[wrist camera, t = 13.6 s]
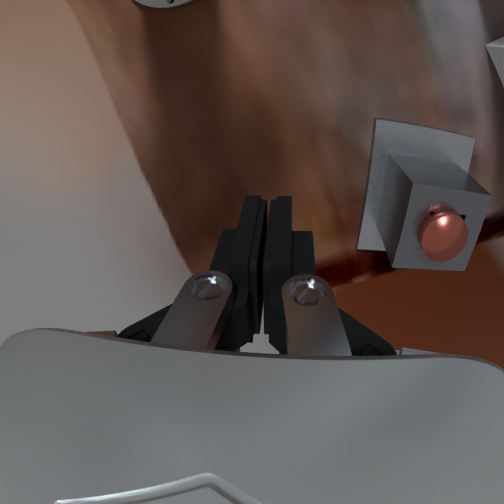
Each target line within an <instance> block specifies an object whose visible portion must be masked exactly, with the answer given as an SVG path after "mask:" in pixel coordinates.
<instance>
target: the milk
mask: <svg viewBox="0 0 504 504" xmlns="http://www.w3.org/2000/svg"><path fill="white" fill-rule="evenodd" d="M485 46H486V48H487V50H488V52H489V54H490V56H491V59H492V61H493V63H494V65H495V68H496V70H497V72H498V75H499V77H500V80H501V82H502V85H503V87H504V37H502V38H500V39H497V40H495V41H493V42H491V43H489V44H487V45H485Z"/></svg>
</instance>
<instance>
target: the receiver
mask: <svg viewBox="0 0 504 504" xmlns="http://www.w3.org/2000/svg"><path fill="white" fill-rule="evenodd" d="M474 142H475V138H474V137H472V136H469V135H465V134H461V133H456V132H452V131H448V130H443V129H438V128H434V127H429V126H423V125H418V124H413V123H407V122H401V121H395V120H388V119H381V118H374V127H373V137H372V146H371V154H370V162H369V170H368V177H367V184H366V191H365V197H364V203H363V210H362V215H361V221H360V227H359V232H358V238H357V243H356V247H357V249H364V250H380V251H386V253H387V255H388V258H389V261H390V264H391V267H392V268H412V269H434V270H455V271H464V270H465V268H466V266H467V263H468V261H469V259H470V256H471V253H472V251H473V249H474V246H475V243H476V241H477V238H478V235H479V233H480V230H481V227H482V224H483V221H484V218H485V215H486V212H487V209H488V206H489V203H490V199H491V196H492V195H490V194H489V193H488V192H487V191H486V190H485V189H484V188H483V187H482V186H481V185H480V184H479V183H478V182H477V181H476V180H475V179H473V178H472V177H471V176H470V175H469V174H468V170H469V166H470V161H471V157H472V152H473V147H474ZM439 209H452V210H454V211H456V212H457V213H458V214H459V215H460V216H461V218H462V219H463V220H464V221H465V223H466V224H467V227H468V231H469V235H468V240H467V243H466V245H465V247H464V249H463V250H462V251H461V252H460V253H459V254H458V255H457V256H456V257H454V258H453V259H451V260H448V261H445V262H435V261H432V260H430V259H428V258H427V257H426V255H425V254H424V252H423V250H422V248H421V246H420V244H419V241H418V232H419V228H420V226H421V224H422V222H423V221H424V220H425V218H426V217H427V216H428V215H430V212H431V211H436V210H439Z"/></svg>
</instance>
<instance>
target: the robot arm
mask: <svg viewBox="0 0 504 504" xmlns="http://www.w3.org/2000/svg"><path fill="white" fill-rule="evenodd" d="M135 1H137V2H138V3H140V4H142V5H145V6H149V7H153V8H173V7H178V6H181V5H185V4H187V3H190V2H192V1H194V0H174V2H173V3H172V0H135ZM263 301H264V334H269V343H270V344H271V345H272V346H273V347H275V348H276V349H277V350H278V351H279V354H261V353H248V352H240V347H241V346H243V345H245V344H246V343H248V342H250V343H252V342H253V335H254V334H259V333H260V326H261V318H262V309H263ZM0 504H504V370H503V369H502V368H500V367H498V366H497V365H495V364H492V363H490V362H488V361H484V360H481V359H477V358H474V357H468V356H461V355H448V354H441V353H434V352H427V351H421V350H415V349H408V348H402V349H401V351H398V350H394V348H393V347H392V346H391V345H390V344H389V343H388V342H387V341H385V340H384V339H382V338H381V337H380V336H378V335H377V334H375V333H374V332H373V331H371V330H370V329H368V328H367V327H365V326H364V325H363V324H361V323H360V322H358V321H357V320H356V319H354V318H353V317H351V316H350V315H349V314H347V313H345V312H344V311H343V310H342V309H340V308H339V307H338V306H337V304H336V300H335V297H334V294H333V291H332V288H331V287H330V285H329V283H327V282H326V281H325V280H324V279H322V278H320V277H318V276H316V273H315V260H314V247H313V235H312V231H292V197H291V196H277V200H271V205H270V213H269V220H268V228H267V200H261V196H246V197H245V201H244V204H243V208H242V211H241V215H240V219H239V222H238V226H237V229H223V231H222V234H221V237H220V239H219V242H218V245H217V248H216V251H215V254H214V257H213V260H212V263H211V267H210V270H209V271H203V272H199V273H197V274H195V275H193V276H192V277H190V278H189V279H188V280H187V281H186V282H185V284H184V286H183V287H182V289H181V291H180V292H179V294H178V296H177V297H176V299H175V301H174V302H173V304H171V305H169V306H167V307H165V308H163V309H161V310H159V311H157V312H155V313H153V314H151V315H150V316H148V317H146V318H144V319H142V320H140V321H138V322H136V323H134V324H133V325H131V326H129V327H127V328H125V329H124V330H123V331H121V333H120V334H117V333H116V331H96V332H81V331H74V330H68V329H58V328H36V329H31V330H25V331H21V332H19V333H16V334H14V335H12V336H10V337H9V338H8V339H6V340H5V341H4V342H3V343H2V345H1V346H0Z"/></svg>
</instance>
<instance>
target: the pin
mask: <svg viewBox="0 0 504 504" xmlns="http://www.w3.org/2000/svg"><path fill="white" fill-rule="evenodd" d="M468 235H469V231H468V227H467V224H466V223H465V221H464V220H463V219H462V218H461V216H460V215H459V214H458V213H457V212H456V211H454V210H452V209H439V210H436V211H431V212H430V215H428V216H427V217H426V218H425V220H424V221H423V222H422V224H421V226H420V228H419V232H418V241H419V244H420V246H421V248H422V250H423V252H424V254H425V255H426V257H427V258H428V259H430V260H432V261H435V262H445V261H448V260H451V259H453V258H454V257H456V256H457V255H458V254H459V253H460V252H461V251H462V250H463V249H464V247H465V245H466V243H467V240H468Z"/></svg>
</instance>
